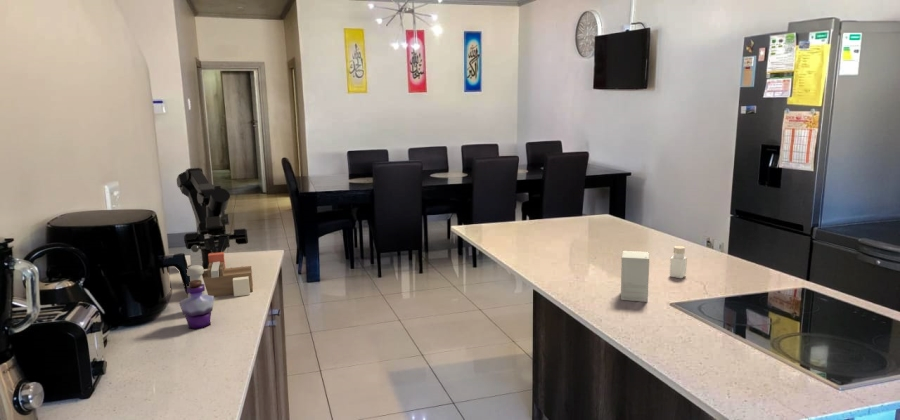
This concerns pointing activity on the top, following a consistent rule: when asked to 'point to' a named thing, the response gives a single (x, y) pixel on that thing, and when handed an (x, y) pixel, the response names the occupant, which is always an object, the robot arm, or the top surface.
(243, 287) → the cream button
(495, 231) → the top surface
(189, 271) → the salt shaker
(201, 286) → the potion bottle
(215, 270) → the red plunger
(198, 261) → the lever
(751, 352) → the top surface
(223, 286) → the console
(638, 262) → the supplement box
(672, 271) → the pepper shaker
